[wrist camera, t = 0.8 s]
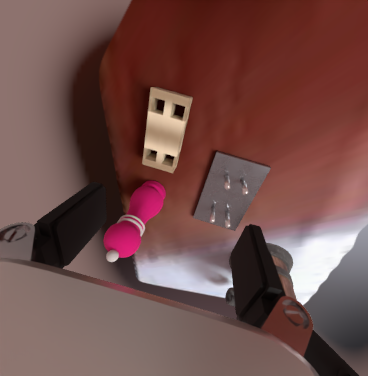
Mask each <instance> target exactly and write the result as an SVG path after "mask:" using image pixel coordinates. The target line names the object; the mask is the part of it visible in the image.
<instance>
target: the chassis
mask: <svg viewBox="0 0 368 376" xmlns="http://www.w3.org/2000/svg"><path fill="white" fill-rule="evenodd" d="M270 169H271V167H270V166H268V165H264V164H261V163H257V162H254V161H251V160H247V159H244V158H240V157H237V156H234V155H230V154H227V153H223V152H220V151H216V154H215V157H214V160H213V162H212V165H211V168H210V171H209V174H208V176H207V179H206V182H205V185H204V188H203V190H202V193H201V196H200V199H199V202H198V204H197V207H196V210H195V213H194V216H193V218H195V219H198V220H201V221H205V222H208V223H211V224H214V225H218V226H221V227H224V228H227V229H231V230H234V231H235V230H236V228H237V226H238V225H239V223H240V221H241V219H242V218H243V216H244V214H245V212H246V211H247V209H248V207H249V205H250V204H251V202H252V200H253V198H254V197H255V195H256V193H257V191H258V190H259V188H260V186H261V184H262V183H263V181H264V179H265V177H266V176H267V174H268V172H269V171H270Z"/></svg>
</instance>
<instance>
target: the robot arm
mask: <svg viewBox="0 0 368 376" xmlns="http://www.w3.org/2000/svg"><path fill="white" fill-rule="evenodd" d="M105 222H106V189H105V187H104V186H103V184H100V183H96V182H92V183H90V184H89V185H87V186H86V187H85V188H83V189H82V190H81V191H79V192H78V193H76V194H75V195H74V196H72V197H70V198H69V199H68V200H66V201H65V202H63V203H62V204H61V205H59V206H58V207H56V208H55V209H53V210H52V211H51V212H49V213H48V214H46V215H45V216H43V217H42V218H41V219H39V220H38V221H37V223H36V224H35V225H33V224H30V223H26V222H21V223H15V224H10V225H8V226H5V227H3V228H2V229H0V376H359V375H358V374H357V373H356V372H355V371H354V370H353V369H352V368H351V367H350V366H349V365H348V364H347V363H346V362H345V361H344V360H343V359H342V358H341V357H340V356H339V355H338V354H337V353H336V352H335V351H334V350H333V349H332V348H331V347H329V345H328V344H327V343H326V342H325V341H324V340H323V339H322V338H321V337H320V336H319V335H318V334H317V333H316V332H315V331H314V330H313V321H312V318H311V316H310V314H309V313H308V311H307V310H306V309H305V307H304V306H303V305H302V304H301V303H299V302H298V301H297V300H295V299H293V298H291V297H288V296H286V294H285V292H284V289H283V286H282V283H281V280H280V278H279V275H278V272H277V269H276V266H275V264H274V261H273V258H272V255H271V253H270V252H269V251H268V248H267V245H266V242H265V239H264V236H263V233H262V230H261V228H260V227H259V226H256V225H252V224H250V225H249V226H246V227H245V229H244V230H243V232H242V234H241V236H240V238H239V240H238V242H237V244H236V246H235V247H234V249H233V251H232V253H231V268H232V278H233V289H234V299H235V308H236V314H237V316H239V321H238V320H235V319H232V318H228V317H225V316H222V315H219V314H216V313H213V312H209V311H206V310H202V309H199V308H196V307H193V306H189V305H186V304H182V303H179V302H176V301H172V300H169V299H166V298H162V297H159V296H155V295H152V294H149V293H145V292H142V291H138V290H135V289H131V288H128V287H124V286H121V285H118V284H114V283H111V282H107V281H104V280H100V279H97V278H93V277H90V276H86V275H82V274H79V273H76V272H72V271H69V270H65V269H62V268H63V267H64V266H67V265H69V264H70V263H71V261H72V260H73V259H74V258H75V257H76V256H77V254H78V253H79V252H80V251H81V250H82V249H83V248H84V246H85V245H86V244H87V243H88V242H89V241H90V239H91V238H92V237H93V236H94V235H95V234H96V233H97V231H98V230H99V229H100V228H101V227H102V226H103V224H104V223H105Z"/></svg>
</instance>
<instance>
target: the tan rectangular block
mask: <svg viewBox="0 0 368 376" xmlns="http://www.w3.org/2000/svg"><path fill="white" fill-rule="evenodd" d="M192 98H193V97H190V96H187V95H183V94H180V93H176V92H173V91H169V90H165V89H162V88H158V87H151V90H150V99H149V108H148V117H147V126H146V135H145V144H144V153H143V162H142V164H144V165H147V166H150V167H154V168H157V169H160V170H164V171H167V172H170V173H173V172H174V170H175V168H176V167H177V163H178V158H179V154H180V150H181V145H182V141H183V137H184V133H185V128H186V124H187V120H188V116H189V111H190V107H191V103H192ZM158 99H161V100H164V101H165V106H164V111H160V110H157V104H158ZM176 104H178V105H181V106H185V111H184V116H183V117H181V116H178V115H174V113H175V108H176ZM151 150H155V151H157V155H156V154H152V153H151ZM167 154H168V155H171V156H175V157H174V160H173V159H169V158H166V155H167Z"/></svg>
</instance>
